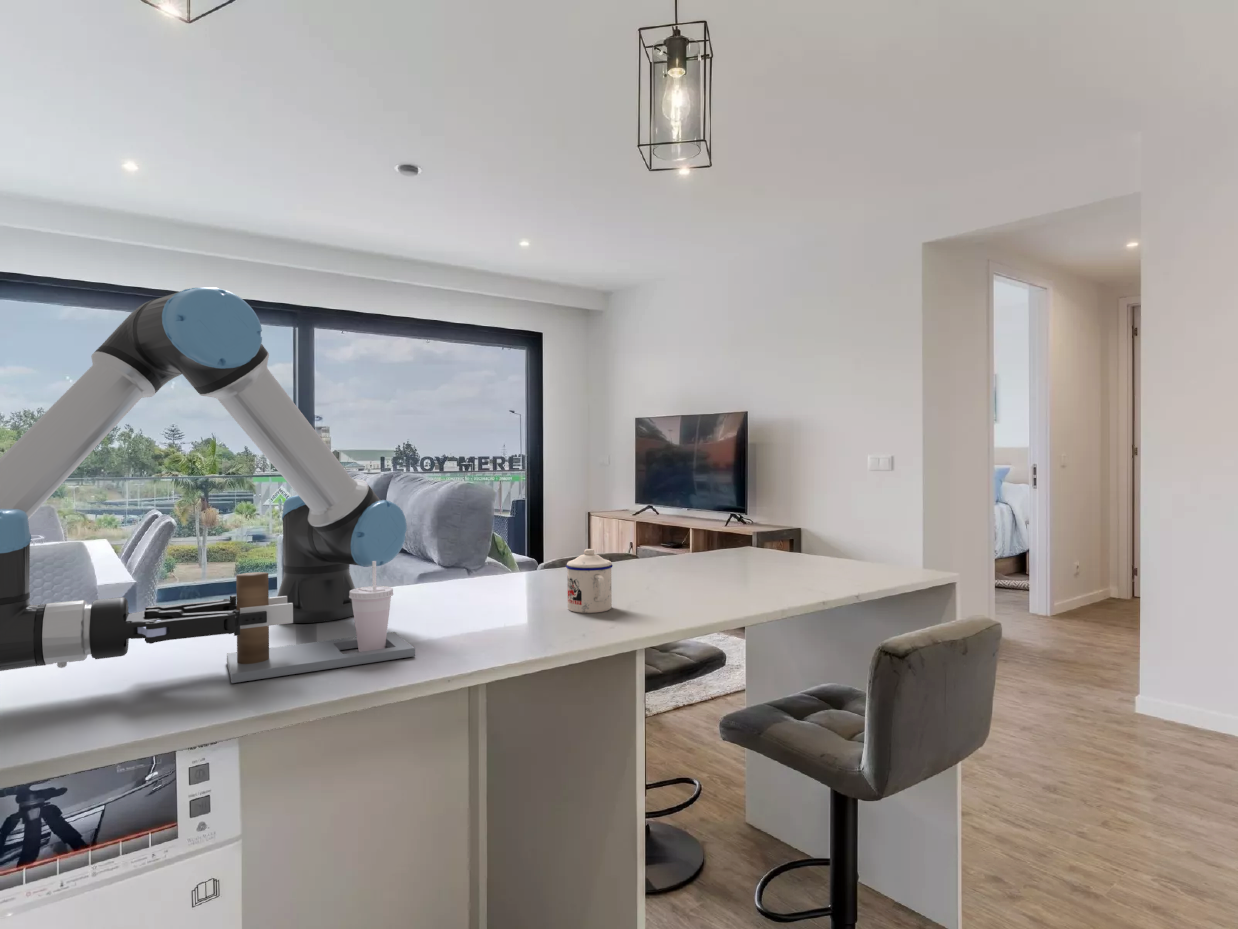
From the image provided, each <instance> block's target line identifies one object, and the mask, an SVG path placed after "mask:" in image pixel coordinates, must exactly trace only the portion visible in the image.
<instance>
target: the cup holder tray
mask: <svg viewBox="0 0 1238 929" xmlns="http://www.w3.org/2000/svg"><path fill="white" fill-rule="evenodd" d="M235 576H236V578H235V579H236V582H235V583H236V588H235V590H236V604H237V610H239V611H240V608H245V607H255V606H265V605H269V598H270V597H269V572H263V571H259V572H257V571H256V572H245V573H244V572H243V573H240V574H236V575H235ZM357 648H358V642H357V636H351V637H343V638H338V639H337V638H336V639H329V640H322V641H314V642H306V643H296V644H289V645H283V646H281V645H280V646H274V647H270V626H262V627H253V628H244V629H240V635H237V636H236V652H228V653H227V652H226V663H227V668H228V673H229V676H230V681H231V684H235V683H241V682H247V681H255V680H261V679H270V678H277V677H282V676H288V675H289V676H291V675H295V674H296V675H297V674H303V673H309V672H316V671H324V670H329V669H337V668H342V667H343V668H345V667H350V666H358V665H362V664H363V665H364V664H371V663H377V662H383V661H390V660H391V661H393V660H396V659H397V660H398V659H403V658H410V657H411V658H412V657H416V648H415V647H414V646H413V645H412V644H410V643H409V642H408V640H405V639H404V638H403V637H402V636H401V635H399V634H398V633H397V632H395V631H392V632H387V636H386V645H385V648H384V649H377V650H370V651H363V652H359V651H358V652H350V653H344V654H343V653H342V652H341V651H343V650H349V649H350V650H351V649H357Z"/></svg>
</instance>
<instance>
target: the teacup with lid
mask: <svg viewBox="0 0 1238 929" xmlns="http://www.w3.org/2000/svg"><path fill="white" fill-rule="evenodd" d="M583 553H584V554H581V555H579V556H577V557H576V558H574V559H572V560H568V561H567V563H566V565H565V567H566V569H567V571H566V572H567V584H566V585H567V609H568V611H570V612H574V613H581V614H595V613H596V614H597V613H602V612H607V611H610V610H611V609H612V605H613V604H612V601H613V600H612V592H613V591H612V568H613V563H612V561H611V560H608V559H606V558H603V557H602V556H600V555H598V554H596V553H595V549H593V548H586V549H584V551H583Z"/></svg>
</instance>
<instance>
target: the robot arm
mask: <svg viewBox="0 0 1238 929" xmlns="http://www.w3.org/2000/svg"><path fill="white" fill-rule="evenodd" d="M262 331H263V329H262V324H261V321H260V319H259V317H258V315H257V313H256V311H254V309H253V308H252V306H250V304H248V303H247V302H246V301H245V300H244V299H243V298H241V297H240V296H239V295H237V294H235V293H234V292H231V291H229V290H226V289H221V288H218V287H214V286H213V287H211V286H209V287H208V286H207V287H191V288H185V289H183V290H180V291H177V292H175V293H172V294H168V295H165V296H163V297H162V296H161V297H159V298H155V299H154V298H153V299H151V300H149V301H146V302H144V303H143V304H141V305H140V306H138V307H137V308H136V309H134V310H133V311H132V312H130V314H129V315H128V316H127V317H126V318H125V319H124V320H123V321H122V322H121V323H120V324H119V325H118V326H117V328H116V329H115V330H114V331H113V332H112V333H111V334H110V335H109V336H108V337H107V338H106V339H105V341H104V342H103V343H101V345H100V346H99V347H98V348H97V349H96V350H95V351H94V352H93V353H92V354H91V363H92V365H91V366H90V367H89V368H88V369H87V370H86V371H85V372H84V373H83V374H82V375H81V376H80V377H79V378H78V379H77V380H76V381H75V383H73V384H72V386H70V387H69V388H68V389H66V392H64V393H63V395H61V396H60V397H59V398H58V399H57V401H56V402H54V404H53V405H51V406H50V407H49V408H48V409H47V410H46V412H45V413H44V414H42V415H41V417H40V418H38V419H37V421H35V423H33V425H32V426H30V428H28V430H27V431H26V432H24V434H23V435H21V437H20V438H18V439H17V441H15V443H14V444H13V445H12V446H11V447H10V448H9V449H7V451H6V452H5V453H4V454H3V455H1V457H0V672H4V671H10V670H18V669H25V668H32V667H41V666H47V665H53V664H56V666H57V668H58V669H59V668H60V669H64V668H66V667H67V665H68V663H73V662H83V661H85V660H86V659H87V658H88V656H91V658H92V659H95V660H100V659H110V658H118V657H124V656H126V654H127V653H128V651H129V650H128V649H129V640H130V639H132V640H134V639H140V640H141V639H144V642H145V643H146V644H155V643H159V642H165V641H173V640H180V639H181V640H182V639H191V638H199V637H209V636H218V635H219V636H220V635H233V637H235V636H236V637H237V635H240V629H244V628H253V627H262V626H269V627H270V626H278V625H286V624H306V623H309V624H311V623H321V622H322V623H323V622H329V621H330V622H331V621H337V620H340V619H346V618H350V617H352V616H353V617H354V614H353V607H352V599H351V598H349V591H350V590H352V589H355V588H356V586H355V584H354V581H353V578H352V576H351V570H350V569H351V568H350V565H352V566H359V567H363V568H368V567H372V561H376V567H381V566H384V565H386V564H388V563H389V562H392V561H393V560H394V559H395V558H396V557H397V556H398V554H399V553H400V552H401V550H402V548H403V546H404V545H405V542H406V532H407V531H408V528H407V527H408V525H407V518H406V516H405V514H404V512H403V510H402V509H401V507H400V506H399V505H398V504H396V503H395V502H392V501H390V500H387V499H382V500H381V499H380V498H379V496H377V494H376V493H375V491H374V490H373V489H372V488H371V485H369V483H368V482H367V481H366V480H364V479H360V478H359V479H357V478H352V476H351V475H350V474H349V473H348V471H347V470H346V469H345V467H344V466H343V464H342V463H341V462H340V461H339V459H338V458H337V457H336V456H335V454H334V453H333V452H332V450H331V449H330V448H329V447H328V444H326V443H325V441H324V440H323V439H322V438H321V436H320V435H319V433H318V432H317V431H316V430H315V429H314V427H313V425H312V424H311V423H310V422H309V421H308V419H307V417H305V415H304V414H303V412H301V410H300V408H298V406H297V405H296V404H295V403H294V401H293V399H292V398H291V397H290V396H289V394H288V393H287V392H286V390H285V389H284V388H283V387H282V385H281V384H280V383H279V382H278V380H277V378H276V377H275V376H274V374H273V373H272V372H271V371H270V370H269V368H268V362H269V356H270V353H269V351H268V350H267V349H266V348H265V346H264V345H263V337H262V334H261V332H262ZM181 375H182V376H183V377H184V378H185V379H186V381H187V382H188V383H189V384H190V385H191V387H192V388H193V389H194V390H195V391H196V393H198V394H199V396H202V397H208V398H213V399H217V400H218V401H219V403H220V404H221V405H222V406H223V407H224V409H225V410H226V411H227V412H228V413H229V415H230V416H231V417H232V418H233V419H234V421H235V422H236V423H237V424H238V426H240V428H241V429H242V430H243V431H244V432H245V434H246V435H247V436H248V438H250V441H252V442H253V443H254V444H255V445H256V447H257V448H258V449H259V450H260V451H261V453H262V454H263V455H264V457H265V458H266V459H267V460H268V461H269V462H270V463H271V465H272V466H273V467H274V468H275V470H277V472H278V473H279V474H280V476H281V477H282V478H283V479H284V480H285V482H287V484H288V485H289V486H290V488H292V490H293V491H294V492H295V494H297V495H293V496H289V497H287V498H286V499H285V500H284V502H283V507H282V515H281V520H282V547H283V548H282V551H283V552H282V554H283V556H282V558H283V576H282V581H281V583H280V587H279V590H278V592H277V595H276V596H273V597H272V596H270V597H269V605H265V606H255V607H245V608H240V611H239V610H237V595H229V598H224V599H218V600H208V601H206V600H205V601H198V602H197V601H196V602H188V603H186V602H185V603H177V604H176V603H175V604H164V605H162V604H161V605H157V604H153V605H151V606H146V607H145V610H143V611H138V612H137V611H136V612H129V602H128V599H127V598H126V597H122V596H120V597H108V598H98V599H95V600H94V601H91V603H90V604H89V603H88V602H87V601H86V600H84V599H81V600H79V599H78V600H70V601H60V602H47V603H41V604H31V603H30V602H31V601H30V598H31V596H30V595H31V592H30V589H31V588H30V587H31V577H30V576H31V573H30V572H31V570H30V569H31V568H30V567H31V542H32V534H31V533H30V532H31V531H30V524H29V520H30V519H31V518H32V517H33V516H34V515H35V513H37V511H39V509H40V508H41V507H42V506H43V505H44V504H45V503H46V502H47V501H48V500H49V499H50V497H51V496H52V495H53V494H54V493H55V492H56V491H57V490H58V489H59V487H61V486H62V484H63V483H64V482H65V481H66V480H67V479H68V478H69V477H70V475H72V474H73V472H74V471H75V470H76V469H78V467H79V466H80V464H82V463H83V461H84V460H85V459H86V458H88V456H89V455H90V454H91V453H92V452H93V451H94V449H95V448H96V447H97V446H98V445H99V444H100V443H101V442H102V441H103V440H104V439H105V438H106V437H107V436H108V435H109V433H111V431H112V430H113V429H114V428H115V427H116V426H117V425H118V424H119V423H120V422H121V421H122V420H123V419H124V418H125V416H126V415H127V414H128V413H129V412H130V411H131V410H132V409H133V408H134V406H136V404H137V403H138V402H139V401H140V400H141V399H142V398H152V397H154V396H155V395H156V394H157V392H158V391H159V390H160V389H161V388H162V387H164V386H165V385H166V384H167V383H169V382H170V381H172V380H173V379H175V378H177V377H179V376H181Z"/></svg>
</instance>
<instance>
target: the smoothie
mask: <svg viewBox="0 0 1238 929" xmlns="http://www.w3.org/2000/svg"><path fill="white" fill-rule="evenodd" d="M371 567H372V568H371V569H372V571H371V572H372V585H371V586H370V585H369V586H361V587H355V589H352V590H350V591H349V598H351V599H352V607H353V614H354V615H353V622H354V627H355V634H356V635H355V636H356V637H357V642H358V652H363V651H370V650H377V649H384V648H386V636H387V633H388V626H389V625H388V624H389V619H390V618H389V617H390V609H391V601H392V596H393V595H394V588H393V587H391V586H386V585H384V586H383V585H377V566H376V561H372V566H371Z"/></svg>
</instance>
